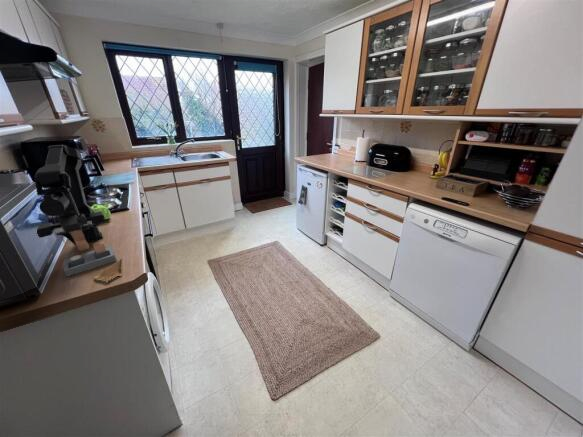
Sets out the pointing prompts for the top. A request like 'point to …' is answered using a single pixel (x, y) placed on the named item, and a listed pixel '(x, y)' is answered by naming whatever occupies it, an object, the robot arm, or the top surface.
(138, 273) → the top surface
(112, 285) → the top surface
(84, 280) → the top surface
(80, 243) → the brown wooden block
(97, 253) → the board
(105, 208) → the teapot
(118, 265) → the shard
